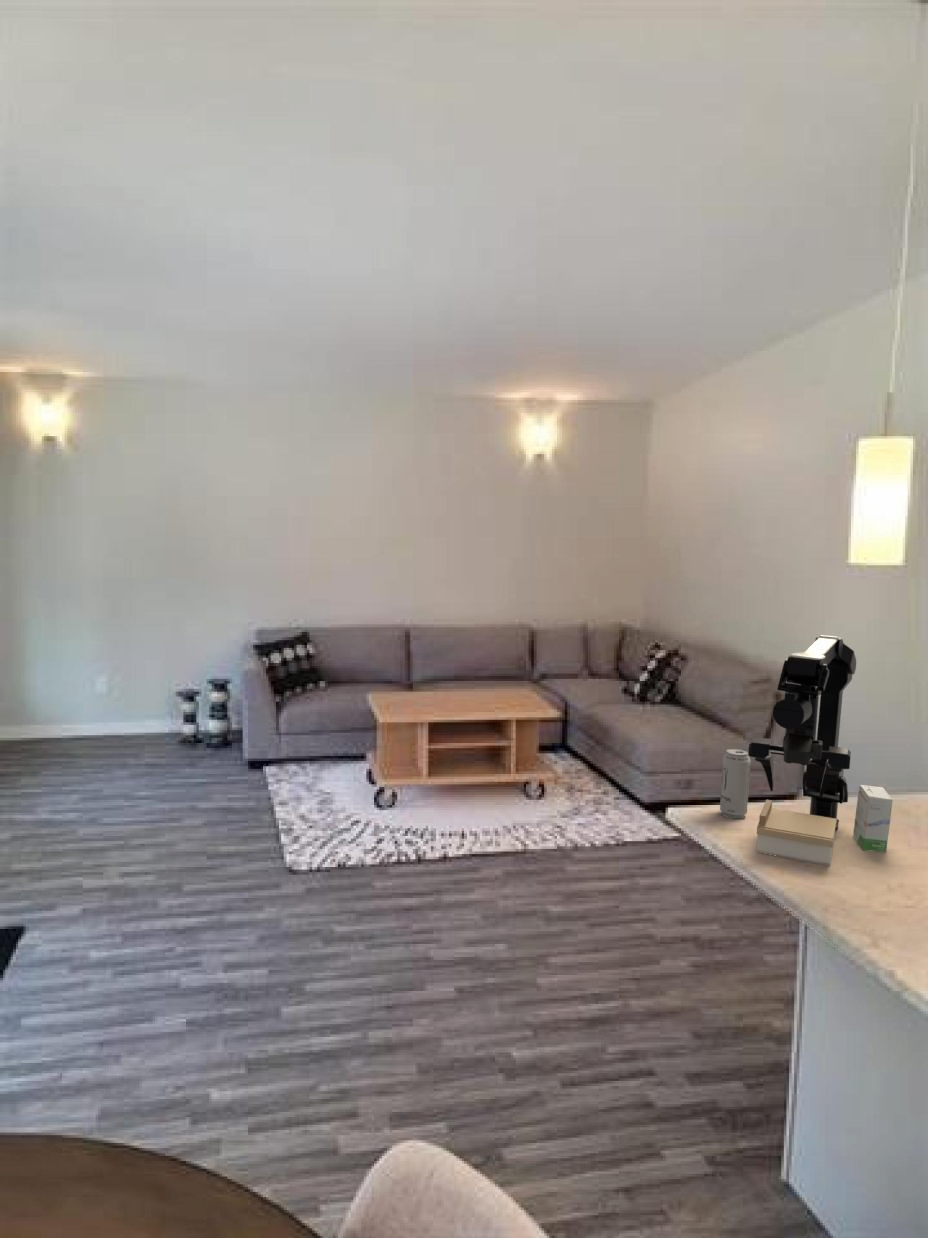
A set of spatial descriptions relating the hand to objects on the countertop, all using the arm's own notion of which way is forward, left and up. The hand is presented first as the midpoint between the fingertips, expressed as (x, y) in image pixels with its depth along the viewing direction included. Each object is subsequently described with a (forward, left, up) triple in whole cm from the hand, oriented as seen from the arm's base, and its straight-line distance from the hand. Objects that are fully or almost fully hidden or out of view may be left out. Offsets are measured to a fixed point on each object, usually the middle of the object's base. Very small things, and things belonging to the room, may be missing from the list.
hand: (796, 794), depth 176 cm
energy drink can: (-22, -15, -14) cm, 30 cm away
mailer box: (-7, 0, -14) cm, 15 cm away
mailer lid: (-7, 0, -10) cm, 12 cm away
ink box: (-18, +14, -14) cm, 27 cm away
